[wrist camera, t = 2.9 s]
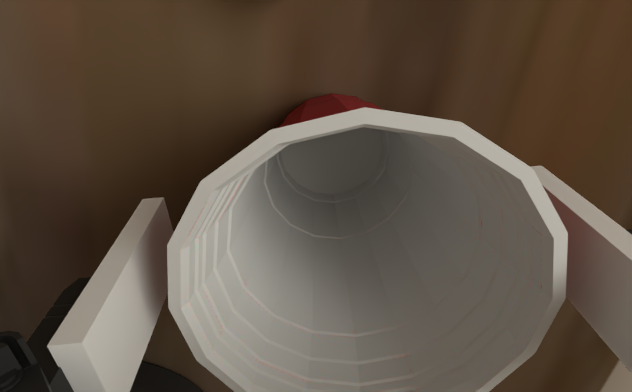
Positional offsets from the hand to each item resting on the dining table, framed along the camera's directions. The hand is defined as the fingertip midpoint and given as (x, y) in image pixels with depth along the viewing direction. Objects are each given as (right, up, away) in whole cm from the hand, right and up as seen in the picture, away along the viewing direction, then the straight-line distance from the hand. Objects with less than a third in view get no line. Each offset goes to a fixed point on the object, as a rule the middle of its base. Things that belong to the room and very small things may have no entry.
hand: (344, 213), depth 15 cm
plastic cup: (-1, +3, +6) cm, 7 cm away
